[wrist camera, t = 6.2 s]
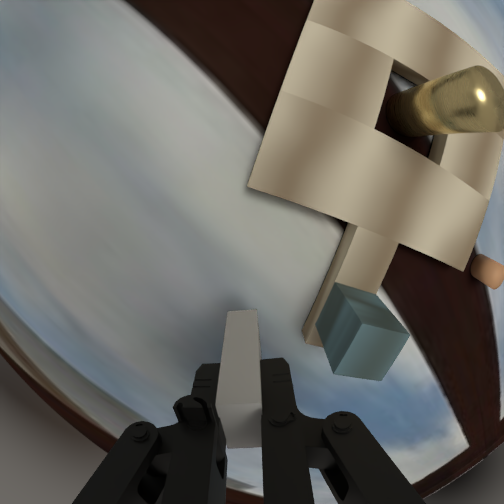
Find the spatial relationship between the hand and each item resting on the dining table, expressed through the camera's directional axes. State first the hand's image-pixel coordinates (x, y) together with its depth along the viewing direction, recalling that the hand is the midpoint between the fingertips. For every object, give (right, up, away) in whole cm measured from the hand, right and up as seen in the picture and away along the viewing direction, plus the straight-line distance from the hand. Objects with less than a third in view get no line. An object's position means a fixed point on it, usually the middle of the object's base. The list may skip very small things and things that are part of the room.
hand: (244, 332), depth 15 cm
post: (+10, +13, 0) cm, 17 cm away
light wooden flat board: (+9, +9, +1) cm, 13 cm away
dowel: (+19, +3, +3) cm, 19 cm away
